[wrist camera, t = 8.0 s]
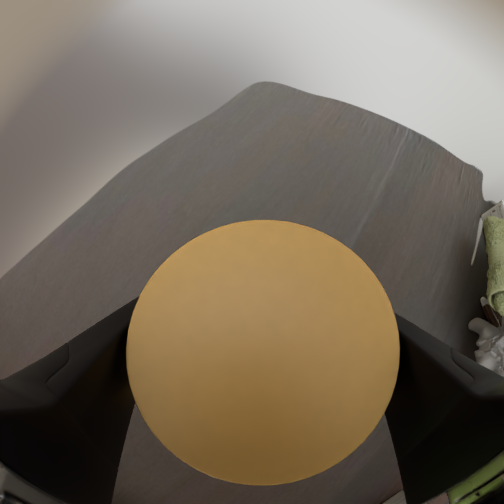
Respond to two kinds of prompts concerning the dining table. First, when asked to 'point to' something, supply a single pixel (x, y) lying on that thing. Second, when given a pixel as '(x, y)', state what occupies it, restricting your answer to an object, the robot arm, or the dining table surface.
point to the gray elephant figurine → (489, 344)
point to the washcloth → (495, 262)
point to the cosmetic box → (397, 499)
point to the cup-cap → (263, 352)
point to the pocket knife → (489, 312)
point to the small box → (495, 211)
